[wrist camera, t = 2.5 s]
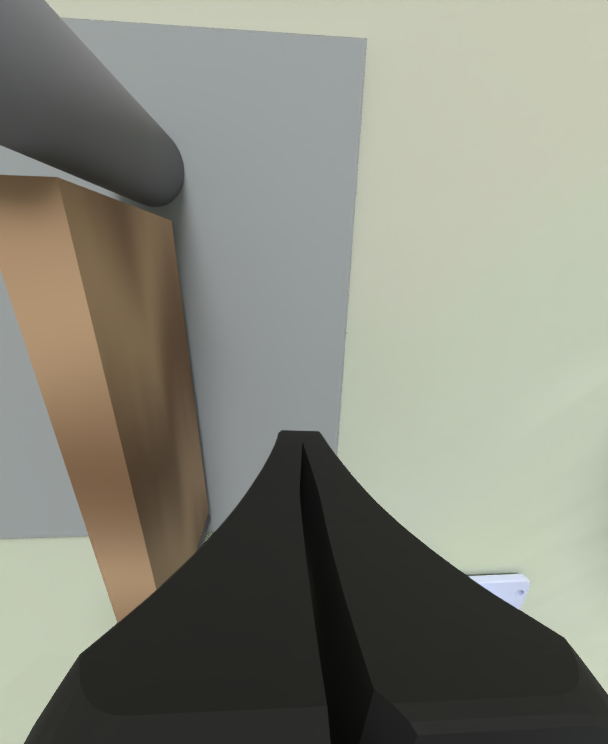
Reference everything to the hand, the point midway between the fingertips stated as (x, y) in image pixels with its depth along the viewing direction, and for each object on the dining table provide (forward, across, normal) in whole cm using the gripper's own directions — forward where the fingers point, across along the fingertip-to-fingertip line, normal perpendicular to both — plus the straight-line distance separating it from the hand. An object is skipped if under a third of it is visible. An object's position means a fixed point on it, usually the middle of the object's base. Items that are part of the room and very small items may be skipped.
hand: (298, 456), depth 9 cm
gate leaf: (+2, +4, -1) cm, 5 cm away
